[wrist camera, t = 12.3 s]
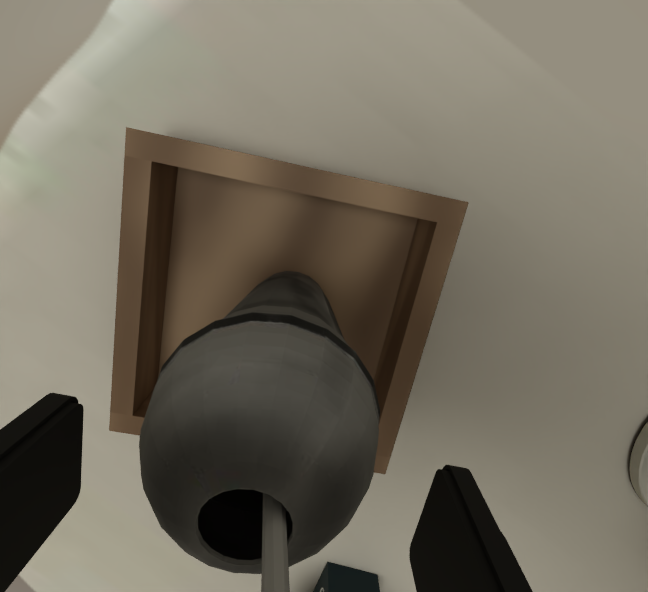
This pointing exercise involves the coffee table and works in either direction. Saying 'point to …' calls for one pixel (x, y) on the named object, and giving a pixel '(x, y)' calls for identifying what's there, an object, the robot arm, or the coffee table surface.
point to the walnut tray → (271, 261)
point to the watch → (346, 580)
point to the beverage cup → (261, 433)
